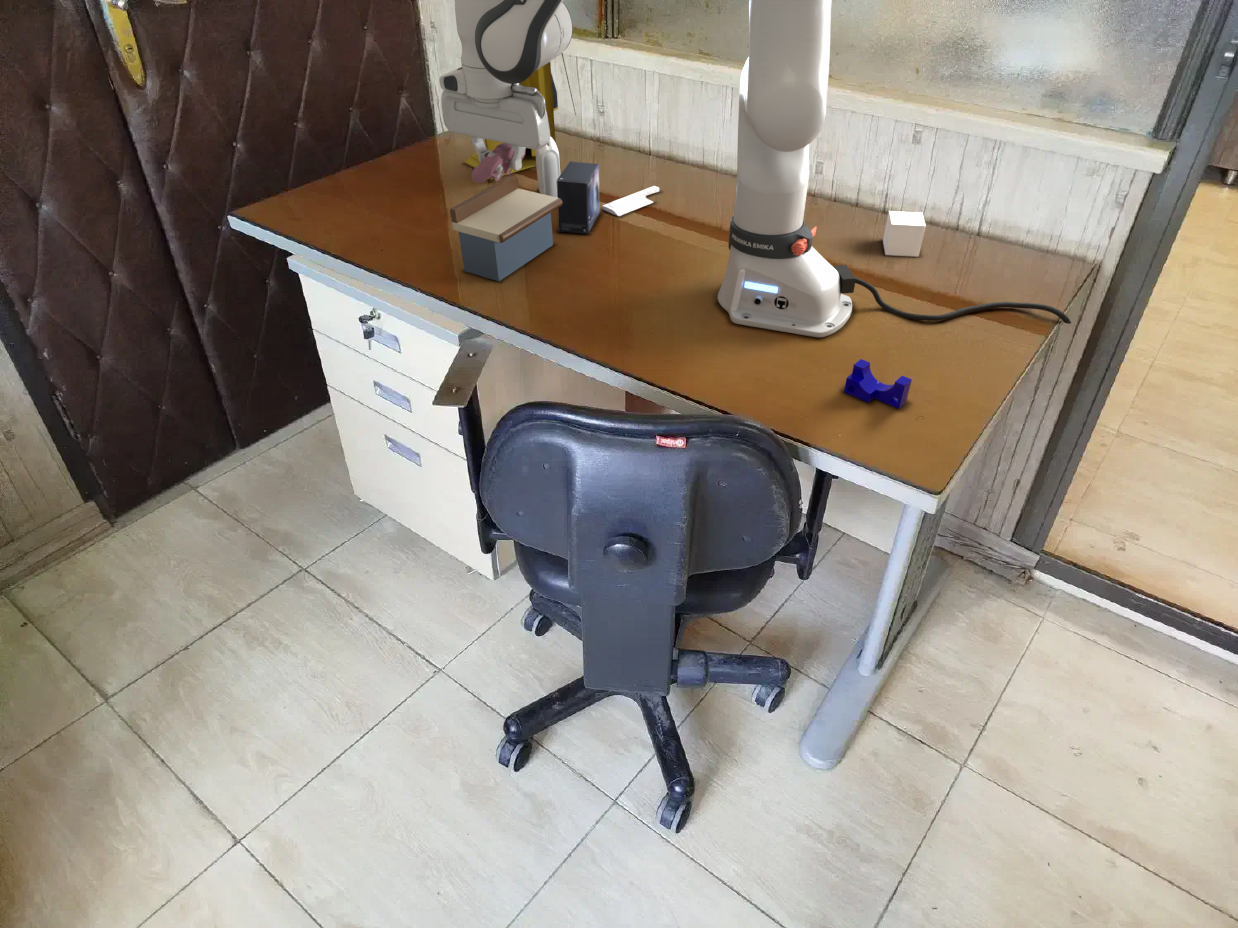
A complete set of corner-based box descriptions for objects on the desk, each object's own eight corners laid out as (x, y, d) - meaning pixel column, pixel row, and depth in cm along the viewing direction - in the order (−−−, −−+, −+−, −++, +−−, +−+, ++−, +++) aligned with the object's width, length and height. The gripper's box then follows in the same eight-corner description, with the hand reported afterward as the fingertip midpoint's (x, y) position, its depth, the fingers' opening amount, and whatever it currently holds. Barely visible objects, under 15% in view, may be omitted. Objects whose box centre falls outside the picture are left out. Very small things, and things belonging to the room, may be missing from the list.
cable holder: (843, 392, 120) (848, 369, 118) (856, 381, 122) (860, 358, 120) (894, 413, 116) (899, 390, 114) (905, 402, 118) (911, 379, 116)
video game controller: (487, 196, 142) (497, 162, 137) (467, 179, 142) (477, 146, 137) (522, 177, 148) (533, 144, 143) (503, 161, 149) (513, 128, 143)
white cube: (915, 242, 157) (922, 212, 153) (918, 257, 153) (926, 226, 149) (882, 240, 158) (888, 210, 154) (885, 255, 154) (891, 224, 150)
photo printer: (536, 188, 180) (531, 130, 172) (556, 186, 181) (552, 128, 173) (543, 207, 173) (539, 147, 165) (564, 205, 173) (560, 145, 165)
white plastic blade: (670, 196, 176) (670, 191, 175) (618, 217, 168) (618, 212, 168) (653, 189, 179) (653, 184, 178) (601, 209, 171) (601, 204, 170)
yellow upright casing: (549, 139, 204) (540, 2, 185) (584, 154, 196) (578, 13, 176) (438, 171, 189) (415, 26, 170) (471, 189, 181) (450, 39, 161)
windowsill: (565, 246, 158) (561, 186, 151) (508, 286, 147) (501, 222, 139) (518, 234, 163) (512, 174, 155) (459, 271, 151) (449, 209, 143)
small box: (590, 235, 162) (588, 182, 155) (557, 232, 163) (554, 180, 156) (601, 213, 170) (600, 162, 163) (571, 211, 171) (568, 160, 164)
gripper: (554, 84, 132) (560, 170, 141) (455, 67, 140) (466, 149, 149) (531, 95, 128) (538, 182, 137) (430, 77, 136) (443, 160, 145)
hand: (500, 165), depth 143 cm, fingers closed on video game controller, 5 cm apart
